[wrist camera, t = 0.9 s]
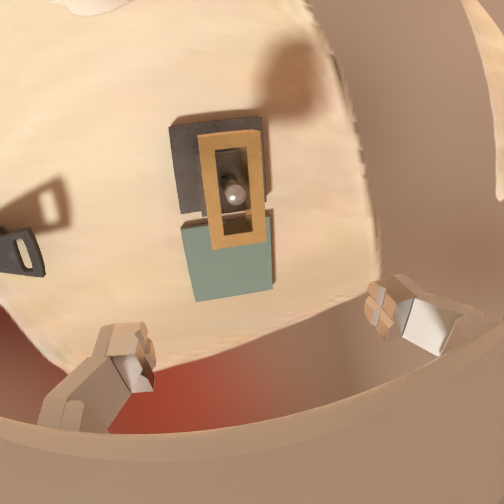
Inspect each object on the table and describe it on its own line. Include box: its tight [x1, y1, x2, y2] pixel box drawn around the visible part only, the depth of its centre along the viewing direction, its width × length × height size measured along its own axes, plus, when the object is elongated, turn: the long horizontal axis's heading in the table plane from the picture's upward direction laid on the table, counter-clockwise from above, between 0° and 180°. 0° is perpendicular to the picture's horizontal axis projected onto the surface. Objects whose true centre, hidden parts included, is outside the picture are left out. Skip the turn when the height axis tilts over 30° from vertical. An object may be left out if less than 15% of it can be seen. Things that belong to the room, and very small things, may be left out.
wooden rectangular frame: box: [197, 129, 267, 250], centre depth 24 cm, size 10×5×4 cm, turn 4°
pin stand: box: [169, 117, 266, 217], centre depth 29 cm, size 12×12×16 cm
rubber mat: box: [181, 215, 273, 302], centre depth 43 cm, size 13×13×1 cm
